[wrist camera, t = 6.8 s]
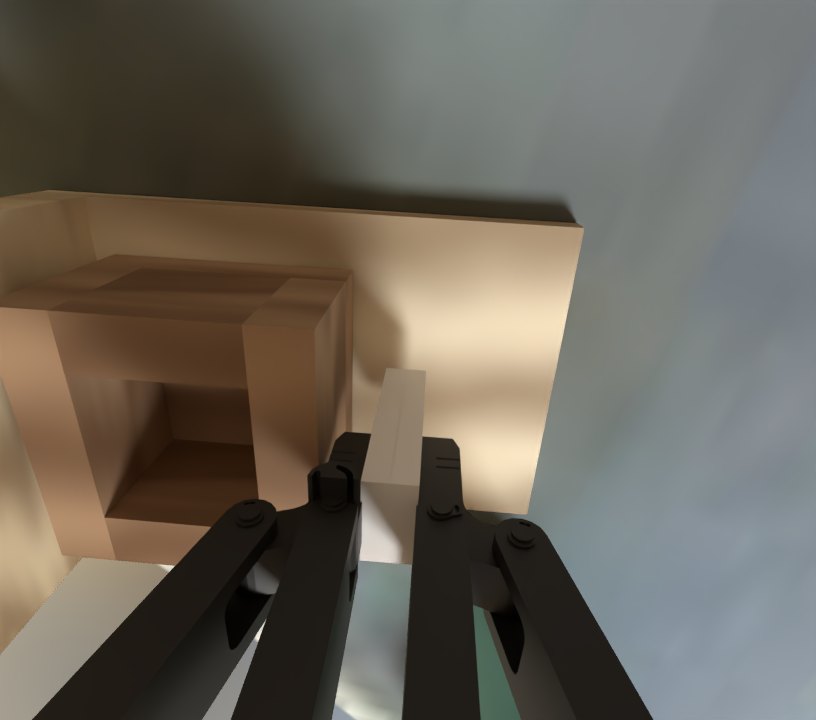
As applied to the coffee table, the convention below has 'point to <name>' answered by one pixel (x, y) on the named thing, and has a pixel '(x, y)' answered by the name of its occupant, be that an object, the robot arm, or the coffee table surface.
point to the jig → (372, 328)
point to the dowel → (491, 675)
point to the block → (174, 394)
